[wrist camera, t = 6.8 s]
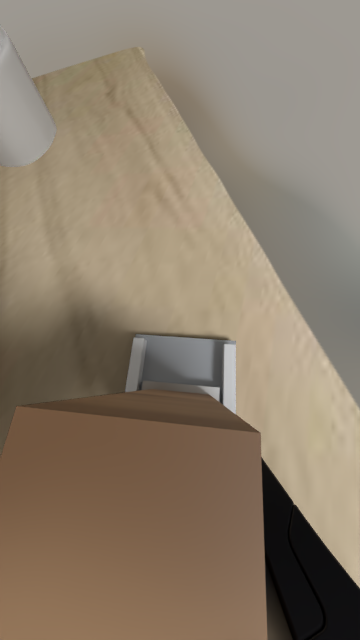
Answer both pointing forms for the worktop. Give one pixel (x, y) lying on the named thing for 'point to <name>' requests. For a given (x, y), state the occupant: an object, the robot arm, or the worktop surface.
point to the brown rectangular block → (132, 519)
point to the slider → (184, 364)
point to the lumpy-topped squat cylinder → (21, 111)
